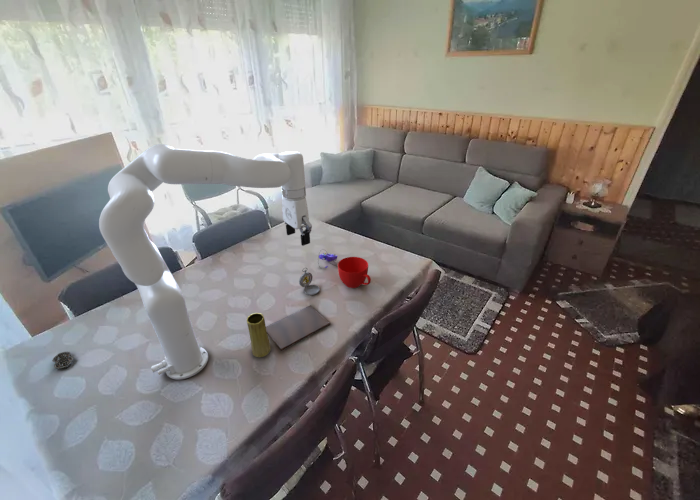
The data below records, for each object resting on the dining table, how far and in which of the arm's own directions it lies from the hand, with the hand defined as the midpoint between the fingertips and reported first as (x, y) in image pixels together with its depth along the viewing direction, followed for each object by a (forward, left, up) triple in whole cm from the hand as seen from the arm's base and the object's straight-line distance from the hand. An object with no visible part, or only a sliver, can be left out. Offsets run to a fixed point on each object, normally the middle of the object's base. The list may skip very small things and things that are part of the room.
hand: (298, 239), depth 112 cm
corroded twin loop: (-75, +26, -31) cm, 85 cm away
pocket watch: (+8, +8, -31) cm, 33 cm away
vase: (-23, -10, -31) cm, 40 cm away
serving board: (-8, -8, -31) cm, 33 cm away
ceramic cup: (+25, -2, -31) cm, 40 cm away
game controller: (+26, +19, -31) cm, 45 cm away
